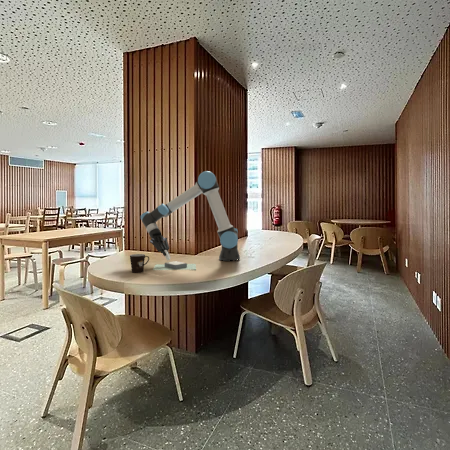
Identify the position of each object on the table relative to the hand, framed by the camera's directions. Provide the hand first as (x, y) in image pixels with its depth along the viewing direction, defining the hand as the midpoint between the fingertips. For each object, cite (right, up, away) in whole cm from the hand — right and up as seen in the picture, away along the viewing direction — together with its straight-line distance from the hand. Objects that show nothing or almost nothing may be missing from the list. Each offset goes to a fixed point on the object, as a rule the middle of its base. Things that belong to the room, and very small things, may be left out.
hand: (169, 259), depth 199 cm
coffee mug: (-14, -6, -15) cm, 21 cm away
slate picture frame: (+1, -3, 0) cm, 3 cm away
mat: (+4, -5, -2) cm, 7 cm away
